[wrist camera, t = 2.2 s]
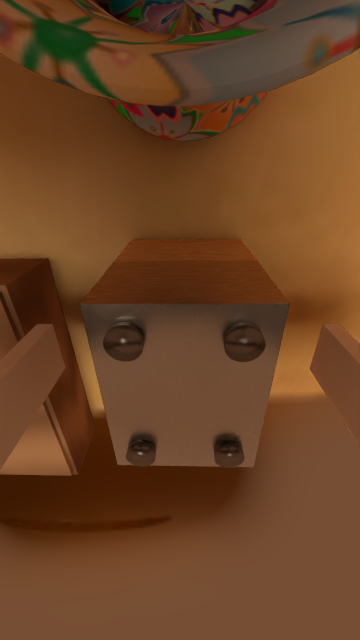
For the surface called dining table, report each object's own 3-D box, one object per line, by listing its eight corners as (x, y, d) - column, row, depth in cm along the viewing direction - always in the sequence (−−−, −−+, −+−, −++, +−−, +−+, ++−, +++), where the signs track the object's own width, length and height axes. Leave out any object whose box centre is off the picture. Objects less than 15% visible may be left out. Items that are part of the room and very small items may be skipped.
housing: (131, 239, 14) (74, 310, 7) (240, 238, 14) (294, 309, 7) (144, 354, 18) (115, 473, 11) (228, 354, 18) (255, 476, 11)
